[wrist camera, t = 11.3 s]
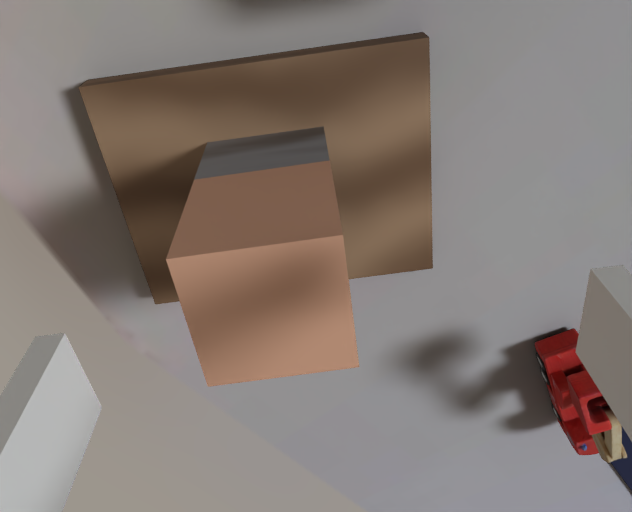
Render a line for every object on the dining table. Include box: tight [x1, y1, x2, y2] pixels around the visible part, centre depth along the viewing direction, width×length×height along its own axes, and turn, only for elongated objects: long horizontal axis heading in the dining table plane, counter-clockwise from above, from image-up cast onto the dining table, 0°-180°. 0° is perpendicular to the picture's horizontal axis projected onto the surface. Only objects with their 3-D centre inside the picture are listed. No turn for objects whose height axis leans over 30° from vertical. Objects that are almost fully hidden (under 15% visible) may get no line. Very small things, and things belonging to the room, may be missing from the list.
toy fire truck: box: [535, 329, 627, 463], centre depth 37 cm, size 3×14×10 cm, turn 24°
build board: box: [78, 32, 433, 304], centre depth 30 cm, size 14×18×6 cm
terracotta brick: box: [166, 160, 359, 387], centre depth 24 cm, size 6×6×7 cm
